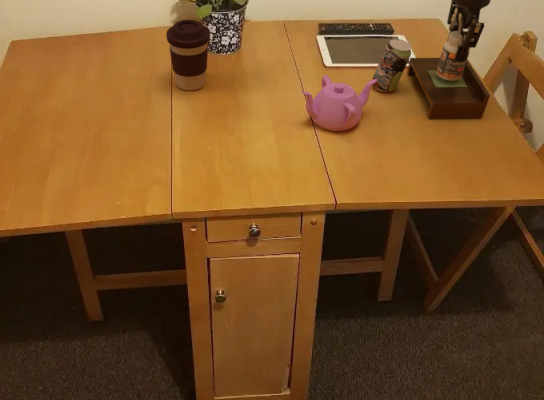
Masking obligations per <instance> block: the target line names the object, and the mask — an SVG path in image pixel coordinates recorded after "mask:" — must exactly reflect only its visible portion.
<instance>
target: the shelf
mask: <svg viewBox="0 0 544 400" xmlns="http://www.w3.org/2000/svg"><path fill="white" fill-rule="evenodd" d="M439 60H440V57H410V58H409V61H408V62H409V63H408V67H407V70H406V75H407V76H415V77H416V79H417V80H418V82H419V85H420V87H421V89H422V91H423V92H424V94H425V96H426V98H427V100H428V103H429V105H430V106H429V109H428V113H427V118H428V120H473V119H475V120H476V119H477V120H478V119H479V120H480V119H481V120H482V119H483V116H484V113H485V111H486V108H487V105H488V102H489V99H490V97H491V94H490V93H489V90H488V89H487V88H486V87H485V85H484V83H483V82H482V80H481V79H480V77H479V76H478V74H477V72H476V71H475V69H474V68H473V66H472V65H471V63H470V62H469V60H468V59H467V61H466V64H465V68H464V71H463V73H462V76H461V78H460V79H458V80H454V81H449V80H445V79H442V78H440V77H439V76H438V75H437V73H436V71H437V67H438V63H439Z"/></svg>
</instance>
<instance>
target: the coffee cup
mask: <svg viewBox="0 0 544 400" xmlns="http://www.w3.org/2000/svg"><path fill="white" fill-rule="evenodd" d="M165 35H166V41H167V43H168V44H169V54H170V60H171V66H172V67H171V68H172V71H173V75H174V83H175V85H176V87H177V88H179V89H181V90H184V91H196V90H199V89H201V88H203V87H204V86H205V84H206V78H207V76H206V75H207V69H208V56H209V55H208V54H209V53H208V52H209V45H208V43H209V42H210V40H211V32H210V29H209V28H208V27H207V26H205V25H203V24H202V22H201V21H199V20H195V19H181V20H178V21H177V22H175V23H174V24H173V26H171V27H170V28H168V30H166V34H165Z"/></svg>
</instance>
